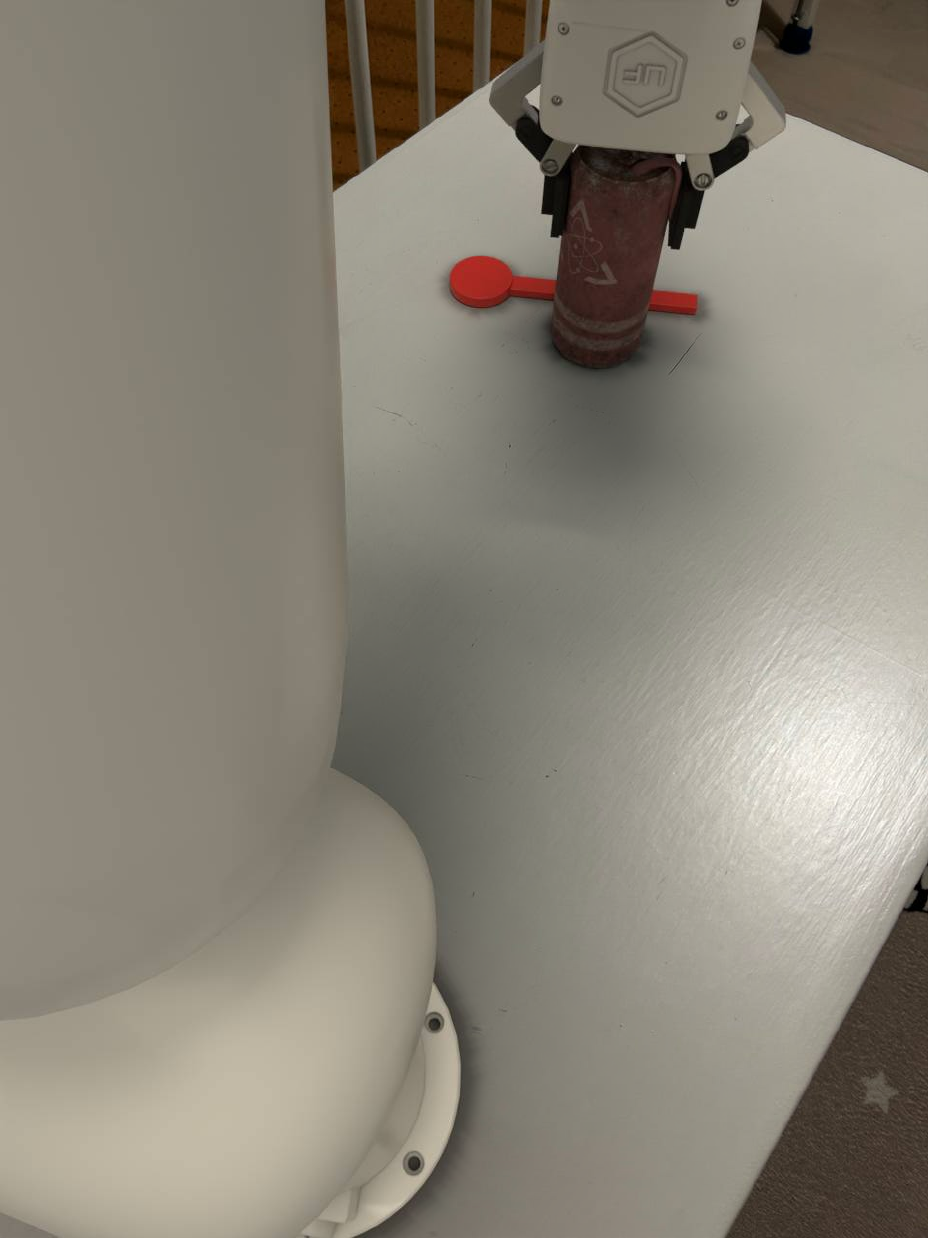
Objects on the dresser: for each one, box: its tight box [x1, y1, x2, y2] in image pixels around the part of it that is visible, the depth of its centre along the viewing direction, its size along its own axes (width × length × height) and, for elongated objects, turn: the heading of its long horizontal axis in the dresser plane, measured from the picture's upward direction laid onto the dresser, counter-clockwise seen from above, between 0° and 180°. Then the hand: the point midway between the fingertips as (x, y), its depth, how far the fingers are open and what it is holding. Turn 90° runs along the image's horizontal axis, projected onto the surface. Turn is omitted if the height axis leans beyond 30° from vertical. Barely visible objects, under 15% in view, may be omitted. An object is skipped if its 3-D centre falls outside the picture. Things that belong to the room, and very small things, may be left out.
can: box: [550, 145, 682, 370], centre depth 60 cm, size 6×6×14 cm
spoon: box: [449, 255, 698, 315], centre depth 67 cm, size 17×4×1 cm, turn 82°
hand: (616, 225), depth 58 cm, fingers closed on can, 6 cm apart
